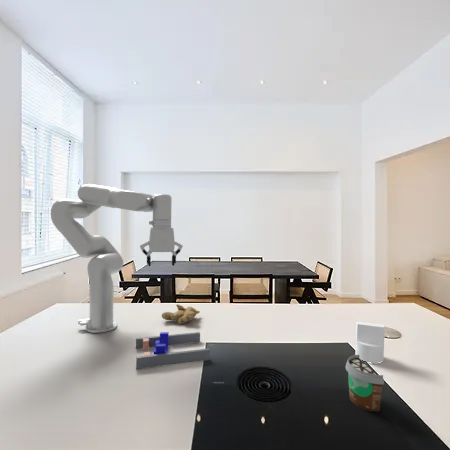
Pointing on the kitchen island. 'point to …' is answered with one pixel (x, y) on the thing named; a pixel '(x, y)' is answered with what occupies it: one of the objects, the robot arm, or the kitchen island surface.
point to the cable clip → (161, 343)
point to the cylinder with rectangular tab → (370, 341)
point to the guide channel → (172, 357)
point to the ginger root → (181, 314)
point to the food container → (364, 384)
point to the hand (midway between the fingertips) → (161, 265)
